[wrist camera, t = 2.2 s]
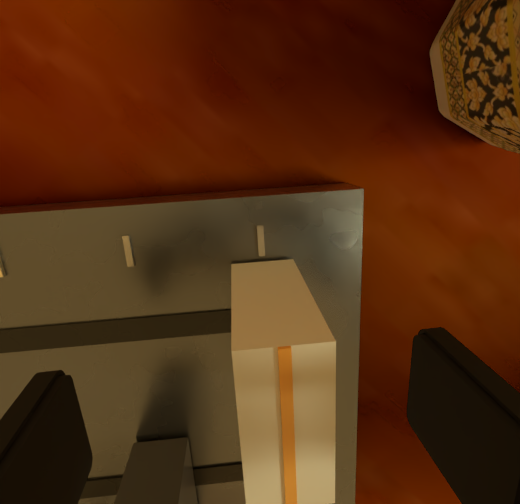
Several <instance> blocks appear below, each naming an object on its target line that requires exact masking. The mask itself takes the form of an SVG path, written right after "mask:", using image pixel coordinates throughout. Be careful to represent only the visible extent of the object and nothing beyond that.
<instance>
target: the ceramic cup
mask: <svg viewBox="0 0 520 504" xmlns="http://www.w3.org/2000/svg"><path fill="white" fill-rule="evenodd" d="M430 60H431V66H432V72H433V79H434V85H435V91H436V97H437V103H438V109H439V111H440V113H441V114H442V115H443V116H444V117H445V118H447V119H449V120H450V121H452V122H454V123H455V124H457V125H459V126H460V127H462V128H464V129H465V130H467V131H469V132H470V133H472V134H473V135H475V136H477V137H478V138H480V139H482V140H483V141H485V142H487V143H488V144H490V145H493V146H496V147H500V148H503V149H505V150H508V151H512V152H516V153H520V0H456V2H455V3H454V5H453V7H452V9H451V11H450V12H449V14H448V16H447V18H446V20H445V21H444V23H443V25H442V27H441V29H440V30H439V32H438V34H437V36H436V38H435V39H434V41H433V43H432V46H431V48H430Z"/></svg>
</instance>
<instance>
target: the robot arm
mask: <svg viewBox="0 0 520 504" xmlns="http://www.w3.org/2000/svg"><path fill="white" fill-rule="evenodd" d="M407 418H408V421H409V424H410V425H411V427H412V429H413V430H414V432H415V433H416V435H417V436H418V438H419V439H420V441H421V442H422V444H423V445H424V447H425V448H426V450H427V451H428V453H429V454H430V456H431V457H432V459H433V461H434V462H435V464H436V465H437V467H438V468H439V470H440V471H441V473H442V474H443V476H444V477H445V479H446V480H447V482H448V483H449V485H450V486H451V488H452V489H453V491H454V492H455V494H456V495H457V497H458V498H459V500H460V501H461V503H462V504H520V393H519V392H518V391H516V390H515V389H514V388H513V387H512V386H511V385H509V384H508V383H507V382H506V381H505V380H504V379H502V378H501V377H500V376H499V375H498V374H497V373H495V372H494V371H493V370H492V369H491V368H490V367H488V366H487V365H486V364H485V363H484V362H483V361H481V360H480V359H479V358H478V357H477V356H476V355H474V354H473V353H472V352H471V351H470V350H469V349H468V348H466V347H465V346H464V345H463V344H462V343H461V342H459V341H458V340H457V339H456V338H455V337H454V336H452V335H451V334H450V333H449V332H448V331H447V330H445V329H444V328H441V327H439V328H430V329H422V330H420V331H419V333H418V335H416V336H414V338H413V347H412V358H411V369H410V380H409V391H408V403H407ZM92 461H93V455H92V450H91V446H90V443H89V439H88V435H87V431H86V428H85V424H84V420H83V416H82V413H81V409H80V405H79V401H78V397H77V394H76V390H75V386H74V382H73V379H72V377H71V375H65V373H64V371H62V370H55V371H46V372H39V373H36V374H35V375H34V376H33V377H32V379H31V380H30V381H29V383H28V384H27V385H26V387H25V388H24V389H23V391H22V392H21V393H20V395H19V396H18V397H17V398H16V400H15V401H14V402H13V404H12V405H11V406H10V408H9V409H8V410H7V412H6V413H5V414H4V415H3V417H2V418H1V419H0V504H78V502H79V500H80V497H81V494H82V492H83V489H84V487H85V484H86V481H87V479H88V476H89V473H90V471H91V468H92Z"/></svg>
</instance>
